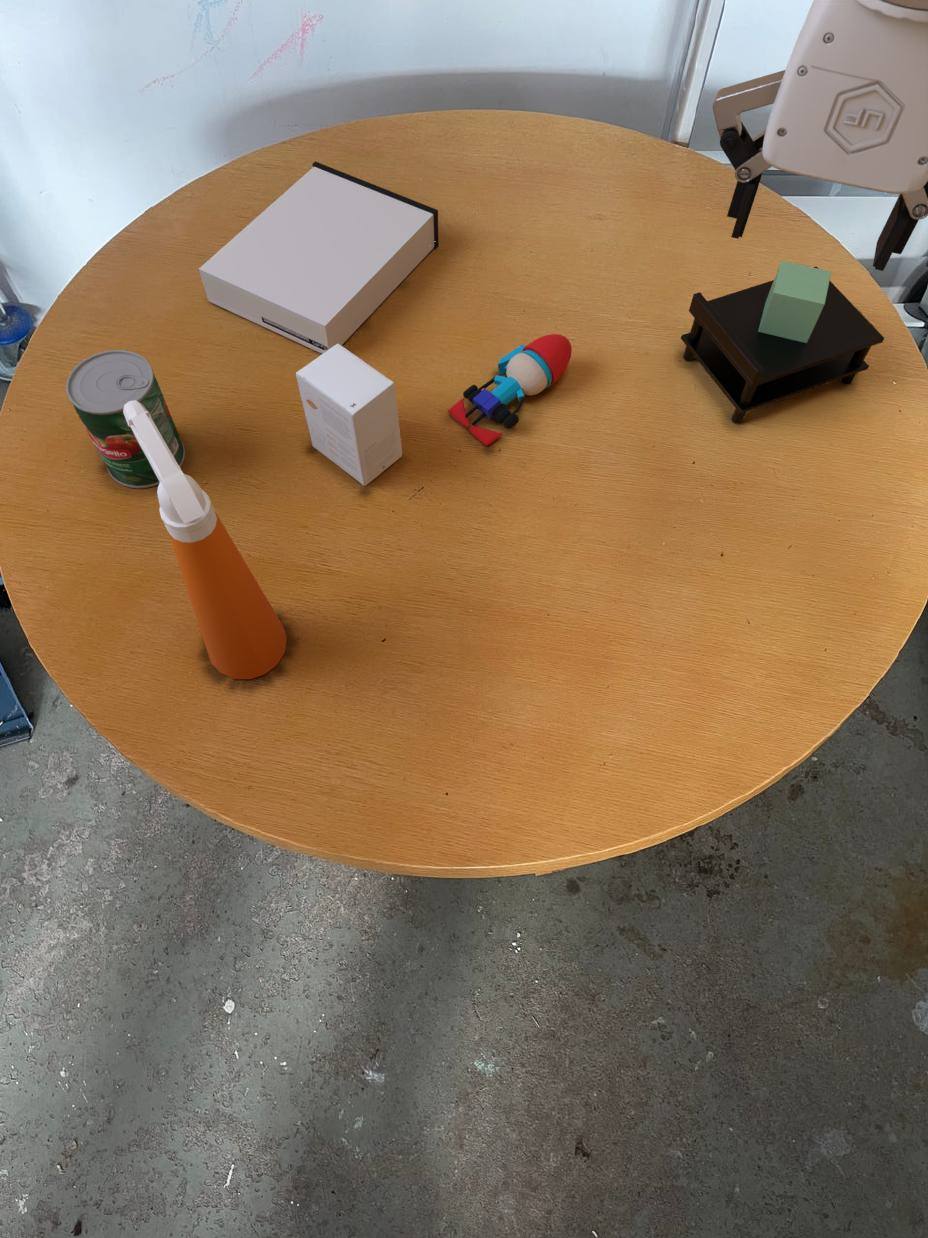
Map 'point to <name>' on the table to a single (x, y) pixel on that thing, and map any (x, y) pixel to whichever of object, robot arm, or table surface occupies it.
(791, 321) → the cube
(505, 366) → the toy figure
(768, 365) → the plate
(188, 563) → the spray bottle
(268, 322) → the disc drive
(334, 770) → the table surface
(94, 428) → the canned tomato
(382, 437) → the small box
